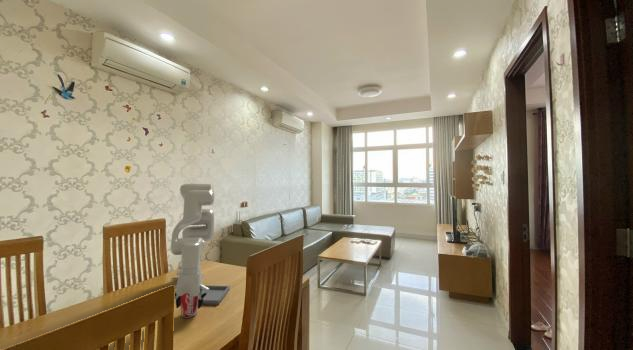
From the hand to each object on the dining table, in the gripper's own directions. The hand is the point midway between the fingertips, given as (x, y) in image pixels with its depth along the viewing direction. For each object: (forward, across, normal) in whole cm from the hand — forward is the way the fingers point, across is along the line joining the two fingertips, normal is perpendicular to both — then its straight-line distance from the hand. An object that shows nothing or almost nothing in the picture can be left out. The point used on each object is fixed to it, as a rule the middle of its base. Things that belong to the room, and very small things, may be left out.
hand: (189, 306), depth 115 cm
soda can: (+4, 0, 0) cm, 4 cm away
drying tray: (+4, +1, +17) cm, 17 cm away
